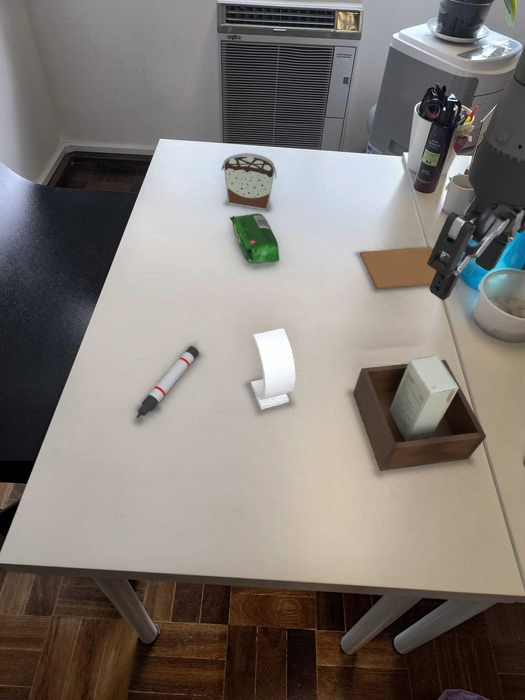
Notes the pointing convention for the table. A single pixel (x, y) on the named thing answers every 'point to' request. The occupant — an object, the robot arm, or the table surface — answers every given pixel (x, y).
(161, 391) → the marker
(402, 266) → the mat
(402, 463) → the compartment
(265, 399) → the headphone stand
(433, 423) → the cosmetic box
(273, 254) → the snack package
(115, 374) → the table surface
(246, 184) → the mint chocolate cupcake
